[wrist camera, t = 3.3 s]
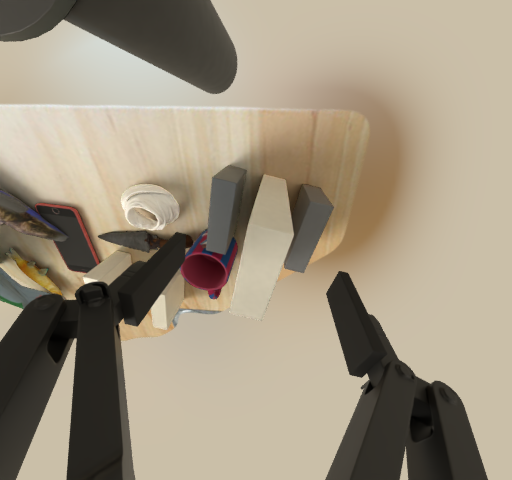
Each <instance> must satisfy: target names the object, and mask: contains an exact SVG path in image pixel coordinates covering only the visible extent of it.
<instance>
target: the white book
mask: <svg viewBox="0 0 512 480" xmlns="http://www.w3.org/2000/svg"><path fill="white" fill-rule="evenodd" d="M293 237H294V232H293V225H292V218H291V212H290V205H289V198H288V192H287V185H286V180H285V179H282V178H278V177H274V176H270V175H265V174H264V175H263V178H262V181H261V184H260V187H259V191H258V194H257V197H256V200H255V203H254V207H253V210H252V213H251V216H250V219H249V223H248V226H247V231H246V236H245V240H244V245H243V250H242V254H241V259H240V264H239V268H238V273H237V278H236V282H235V287H234V292H233V296H232V301H231V306H230V310H229V313H230V314H234V315H238V316H242V317H247V318H251V319H256V320H260V321H262V320H263V317H264V314H265V312H266V309H267V306H268V304H269V301H270V298H271V295H272V293H273V290H274V288H275V285H276V282H277V279H278V277H279V274H280V271H281V269H282V266H283V263H284V261H285V258H286V255H287V253H288V250H289V247H290V245H291V242H292V239H293Z"/></svg>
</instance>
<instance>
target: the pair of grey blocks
mask: <svg viewBox="0 0 512 480" xmlns="http://www.w3.org/2000/svg"><path fill="white" fill-rule="evenodd" d="M246 172H247V170H245V169H241V168H237V167H233V166H227V167H226V168H224V169H223V170H222V171H220V172H219V173H218V174H216V175H215V176H214V177H212V187H211V198H210V209H209V220H208V232H207V243H206V250H207V251H211V252H216V253H220V254H224V255H225V254H226V252H227V250H228V247H229V245H230V243H231V240H232V238H233V235H234V233H235V231H236V227H237V222H238V216H239V211H240V205H241V200H242V194H243V188H244V183H245V177H246ZM333 208H334V206H333V205H332V204H331V202H330V201H329V199H328V198H327V197H326V195H325V194H324V192H323V191H322V190H321V188H318V187H314V186H310V185H306V184H302V187H301V190H300V193H299V195H298V198H297V201H296V204H295V207H294V210H293V213H292V216H291V218H292V225H293V232H294V237H293V239H292V242H291V245H290V247H289V250H288V253H287V255H286V258H285V261H284V267H285V269H288V270H293V271H297V272H301V273H304V271H305V269H306V267H307V265H308V262H309V260H310V258H311V256H312V254H313V252H314V249H315V247H316V245H317V243H318V241H319V239H320V236H321V234H322V232H323V230H324V228H325V226H326V223H327V221H328V219H329V217H330V215H331V213H332V210H333Z"/></svg>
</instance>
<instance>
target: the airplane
mask: <svg viewBox="0 0 512 480" xmlns="http://www.w3.org/2000/svg"><path fill="white" fill-rule="evenodd" d="M47 294H50V293H46V292H43V291H39V290H35V289H31V288H27V287H24V286H21V285H20V284H18V283H17V282H16V281H15V280H13V279H12V278H11V277H10V276H9V275H8V274H7V273H6V272H5V271H4V270H3V269H2V268H0V300H1V301H3V302H6V303H9V304H11V305H14V306H17V307H19V308H22V309H24V308H25V307H26V306H27V305H28V304H29V303H30V302H31V301H32V300H34V299H36V298H38V297H40V296H43V295H47ZM63 299H64V297H63Z"/></svg>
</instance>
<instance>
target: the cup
mask: <svg viewBox="0 0 512 480" xmlns="http://www.w3.org/2000/svg"><path fill="white" fill-rule="evenodd" d="M207 232H208V229H207V230H205V231H203V232H202V233H201V234H200V235H199V237H198V238H197V240H196V241H195V242H194V244H193V245H192V246H191V248H190V249H189V251H188V252H187V253H186V255H185V261H184V263H183V264H182V266H181V267H180V271H181V274H182V276H183V277H184V279H185V280H186V281H187V282H188V283H189V284H191V285H192V286H194V287H196V288H199V289H202V290H208V294H209V297H210V298H211V299H217V298H218V297H219V295H220V292H221V289H222V287H223V286H224V285H225V284H226V283H227V281H228V278H229V275H230V272H231V269H232V266H233V263H234V260H235V257H236V254H237V250H238V246H237V242H236V240H235V239H234V237H233V238H232V240H231V243H230V245H229V247H228V250H227V252H226V254H225V255H224V254H220V253H216V252H211V251H207V250H206V243H207Z"/></svg>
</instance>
